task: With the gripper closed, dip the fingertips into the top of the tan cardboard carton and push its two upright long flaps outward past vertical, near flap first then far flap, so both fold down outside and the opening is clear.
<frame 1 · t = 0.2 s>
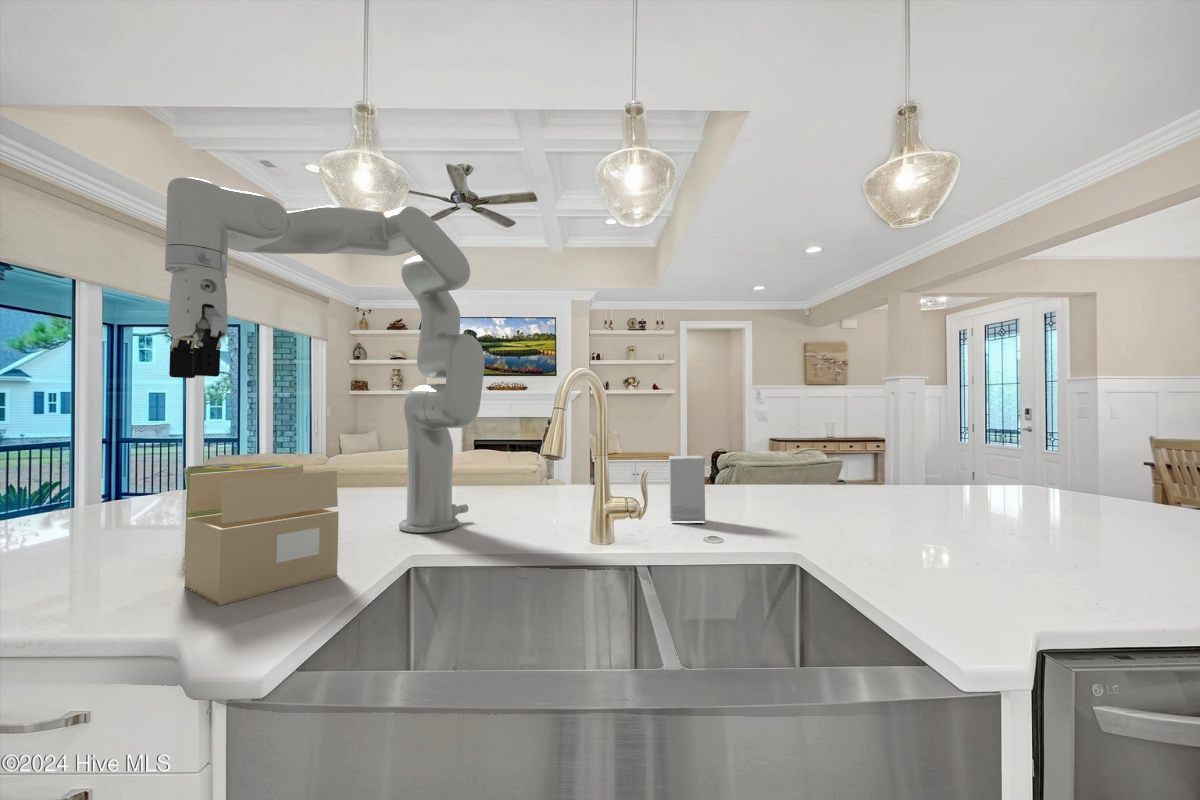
hand: (193, 376, 80), 31 cm above the counter, tool pointing down, fingers open, 9 cm apart
carton: (263, 581, 80), on the counter
near flap: (284, 494, 77), point 14 cm above the counter, hinge at 84.0°
protein box: (245, 551, 97), on the counter
skincare box: (686, 522, 126), on the counter
far flap: (249, 487, 83), point 14 cm above the counter, hinge at 84.0°
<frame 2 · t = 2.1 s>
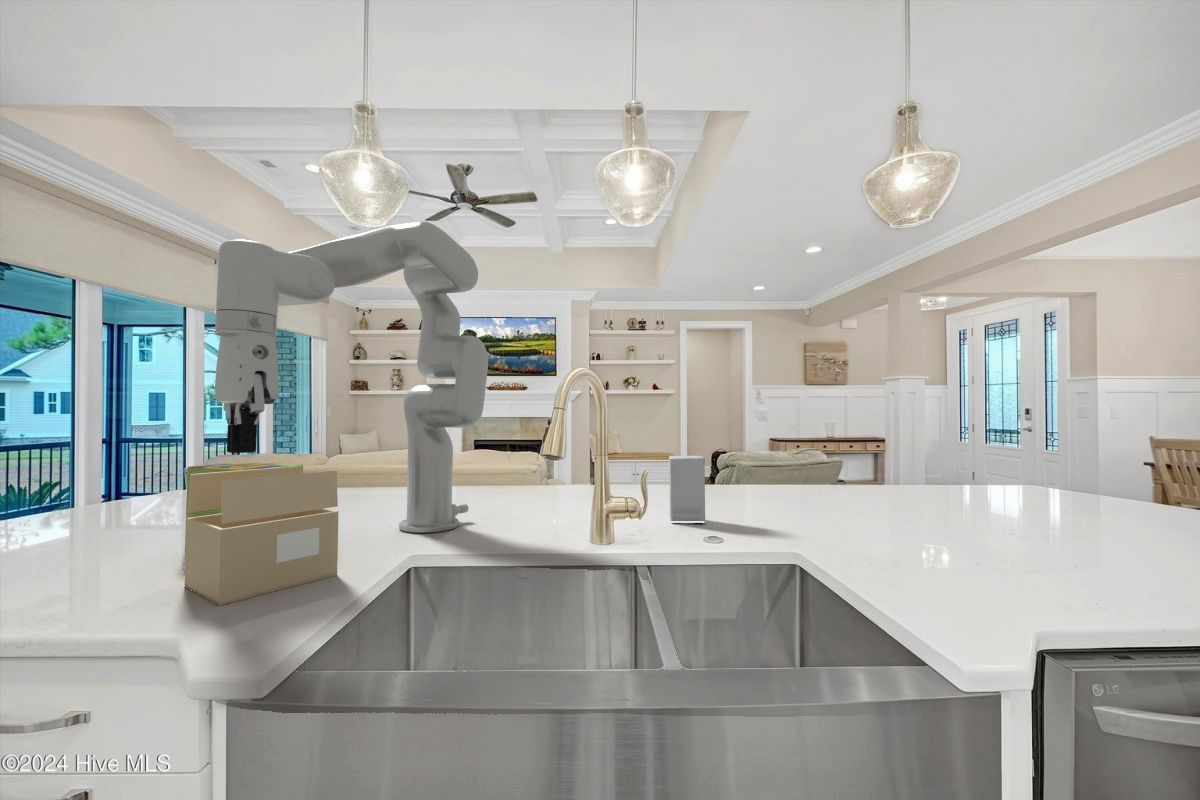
hand: (241, 452, 77), 20 cm above the counter, tool pointing down, fingers closed
nothing on the counter moved.
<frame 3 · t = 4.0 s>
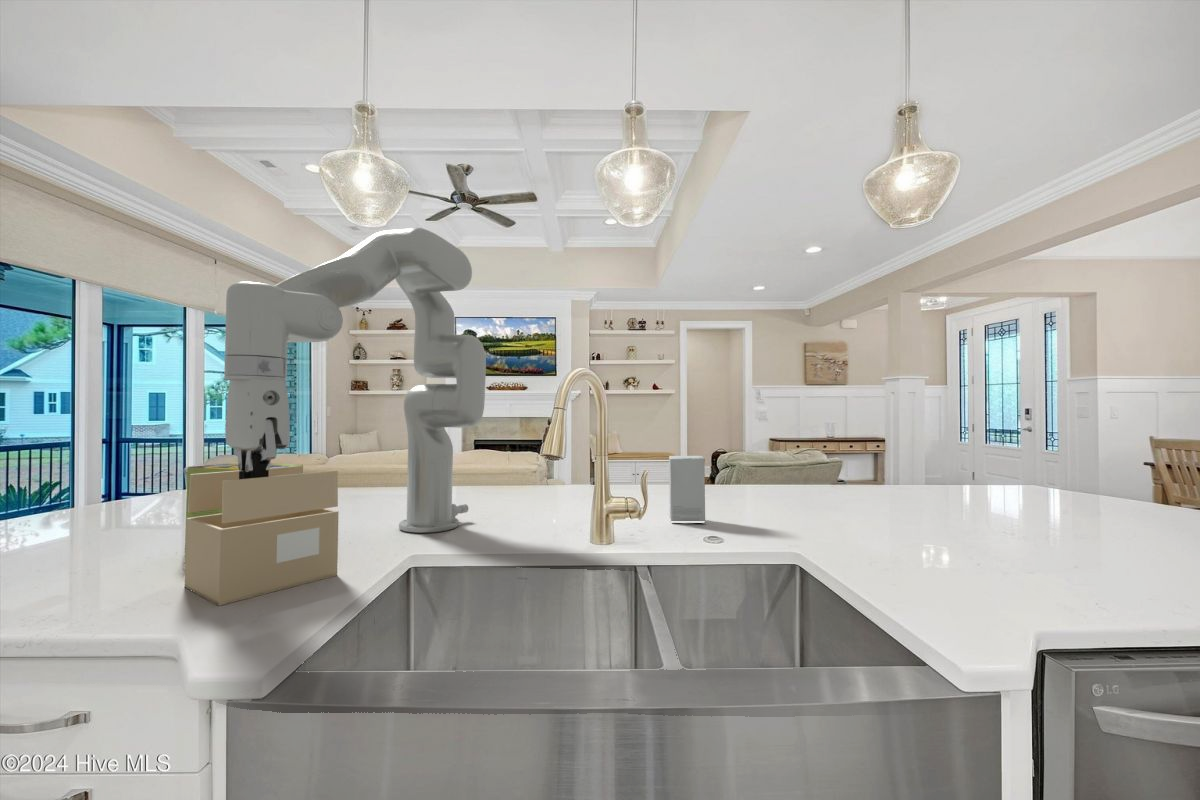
hand: (253, 498, 76), 13 cm above the counter, tool pointing down, fingers closed
near flap: (284, 494, 77), point 14 cm above the counter, hinge at 86.9°, touching gripper
everything else where it was.
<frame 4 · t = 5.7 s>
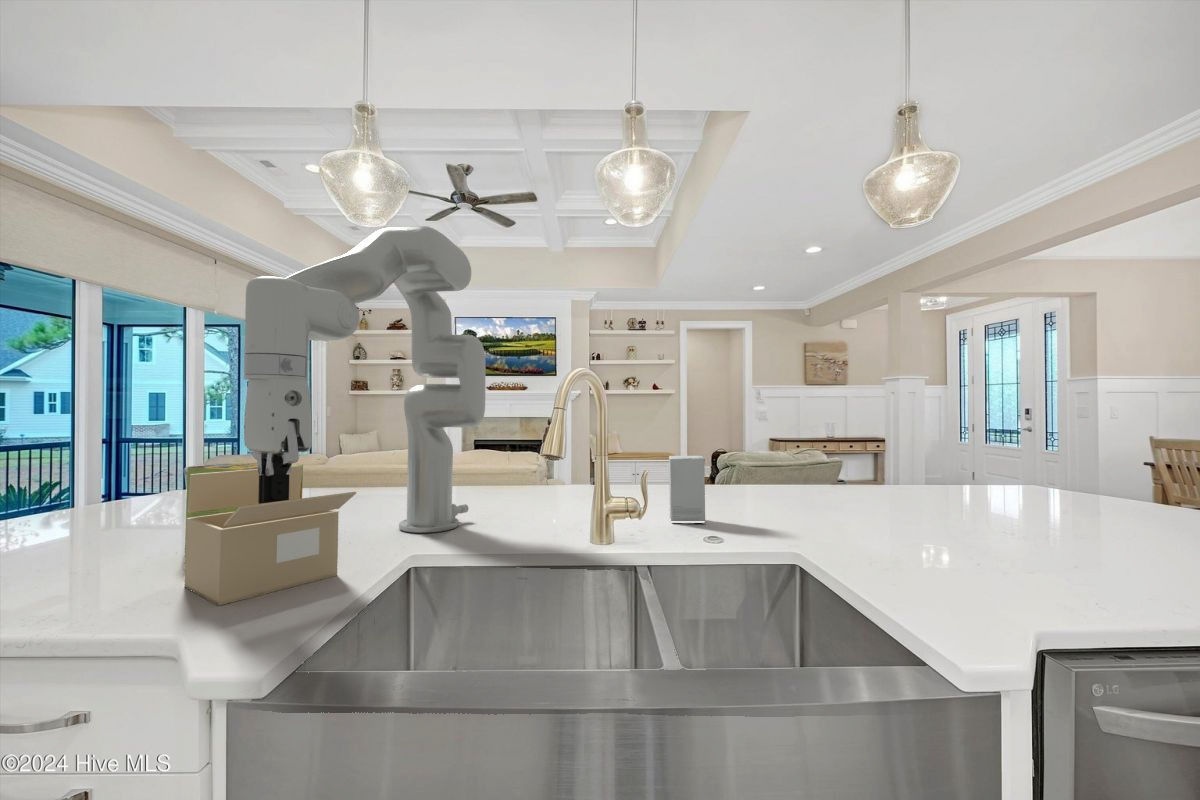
hand: (273, 503, 72), 13 cm above the counter, tool pointing down, fingers closed
near flap: (294, 507, 75), point 12 cm above the counter, hinge at 148.8°
everything else where it was.
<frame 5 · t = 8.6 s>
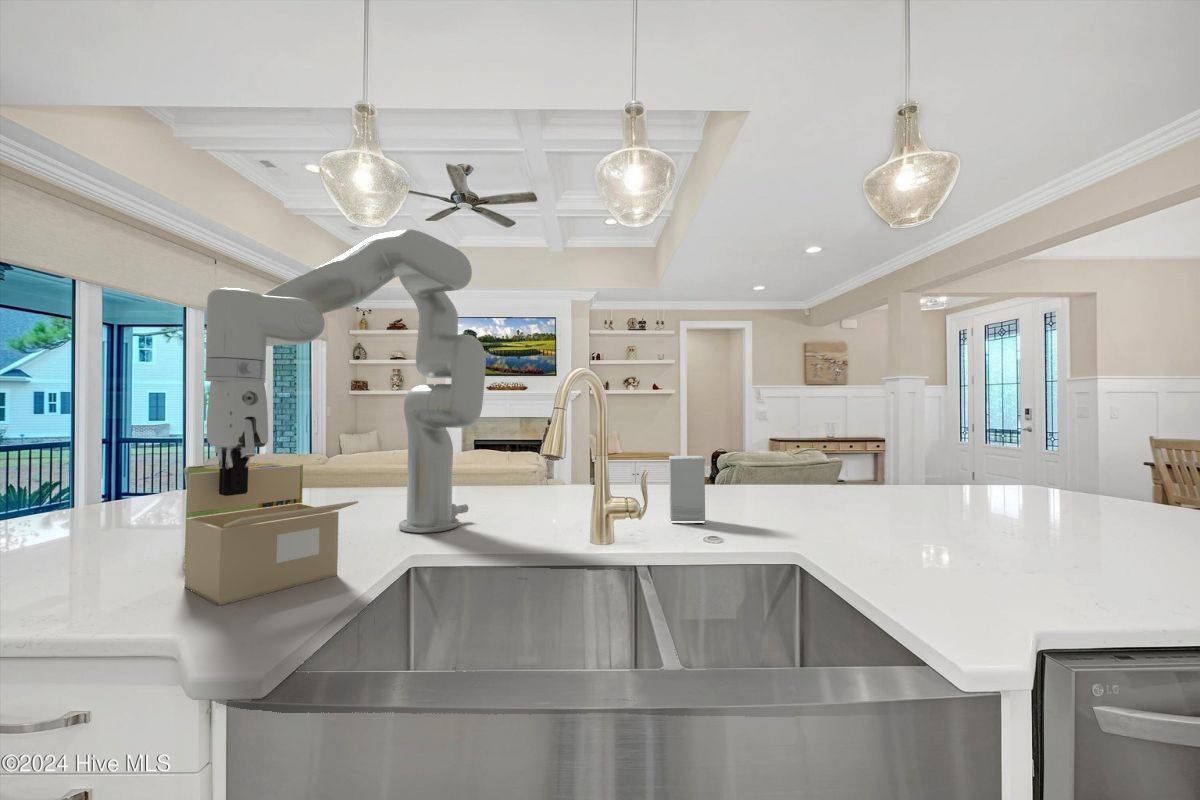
hand: (233, 494, 80), 13 cm above the counter, tool pointing down, fingers closed
near flap: (295, 513, 75), point 11 cm above the counter, hinge at 163.2°
far flap: (248, 487, 83), point 14 cm above the counter, hinge at 90.3°, touching gripper
everything else where it was.
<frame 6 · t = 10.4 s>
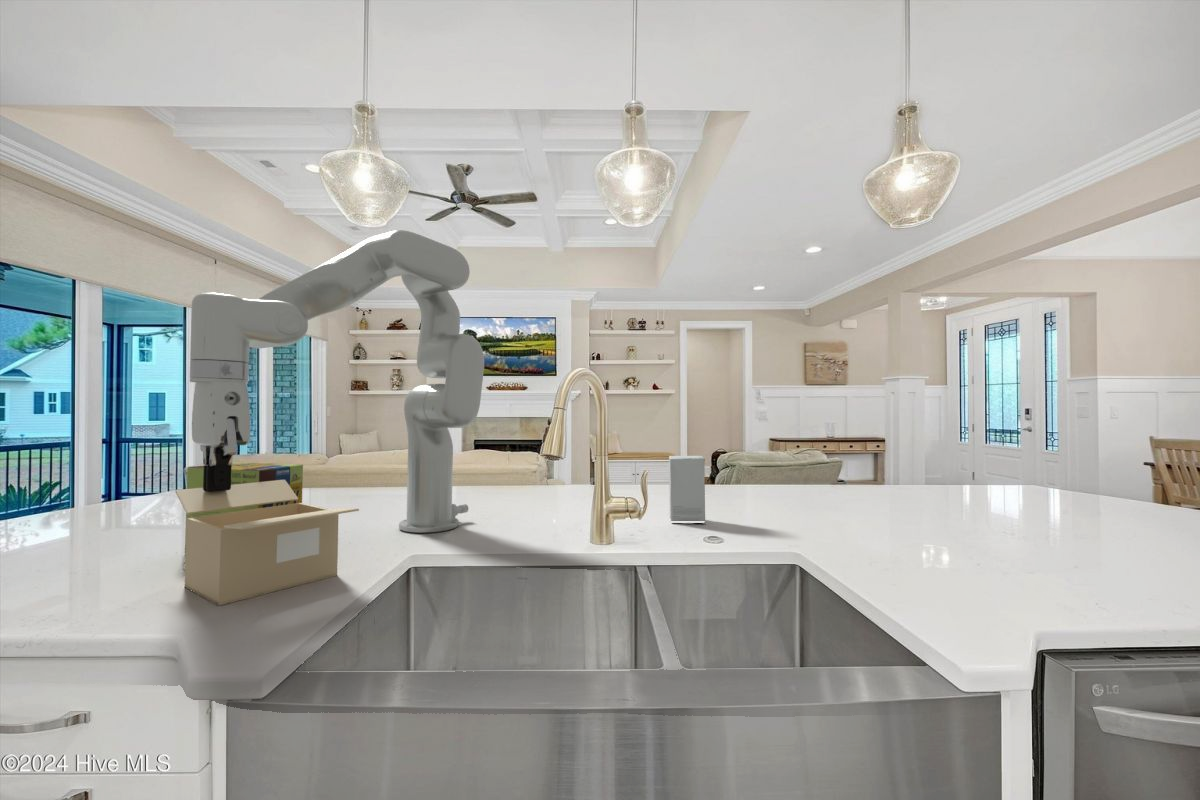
hand: (217, 490, 83), 13 cm above the counter, tool pointing down, fingers closed
near flap: (295, 517, 75), point 11 cm above the counter, hinge at 174.2°
far flap: (240, 495, 85), point 12 cm above the counter, hinge at 149.9°
everything else where it was.
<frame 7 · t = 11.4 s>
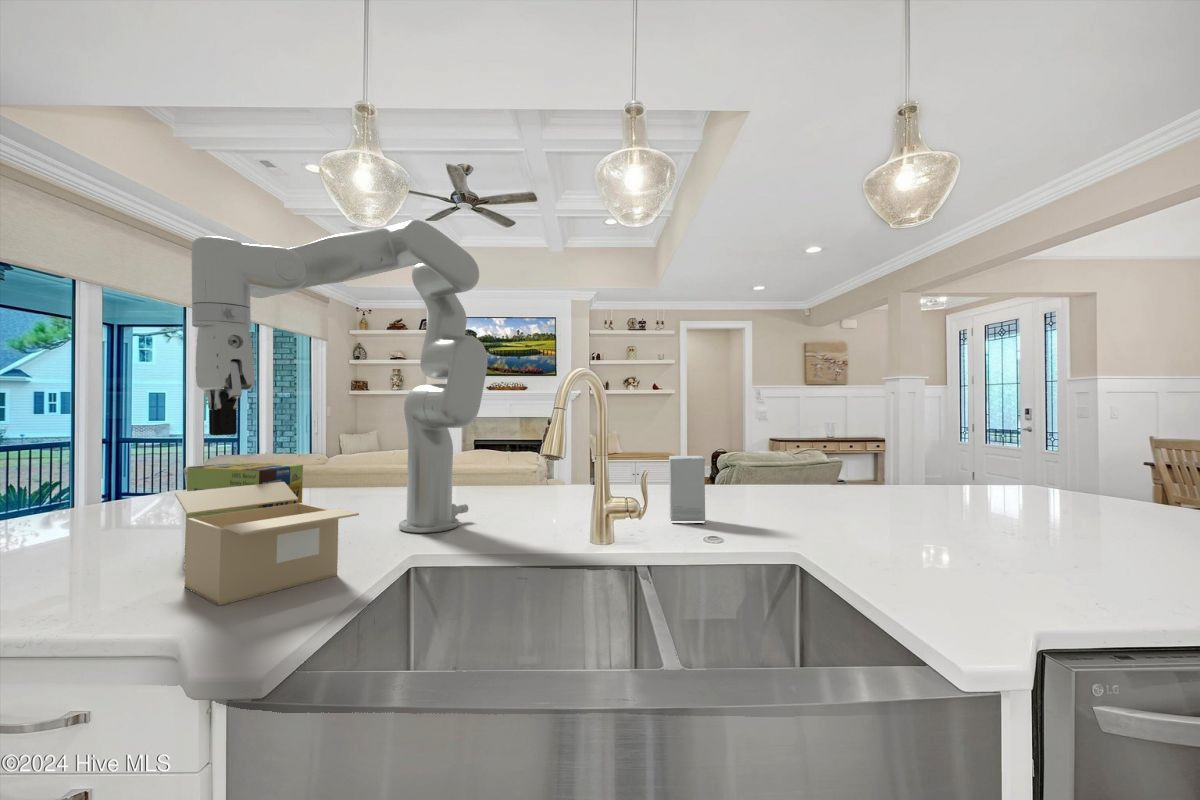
hand: (223, 434, 84), 22 cm above the counter, tool pointing down, fingers closed
near flap: (295, 520, 75), point 10 cm above the counter, hinge at 180.7°
far flap: (240, 496, 85), point 12 cm above the counter, hinge at 154.3°
everything else where it was.
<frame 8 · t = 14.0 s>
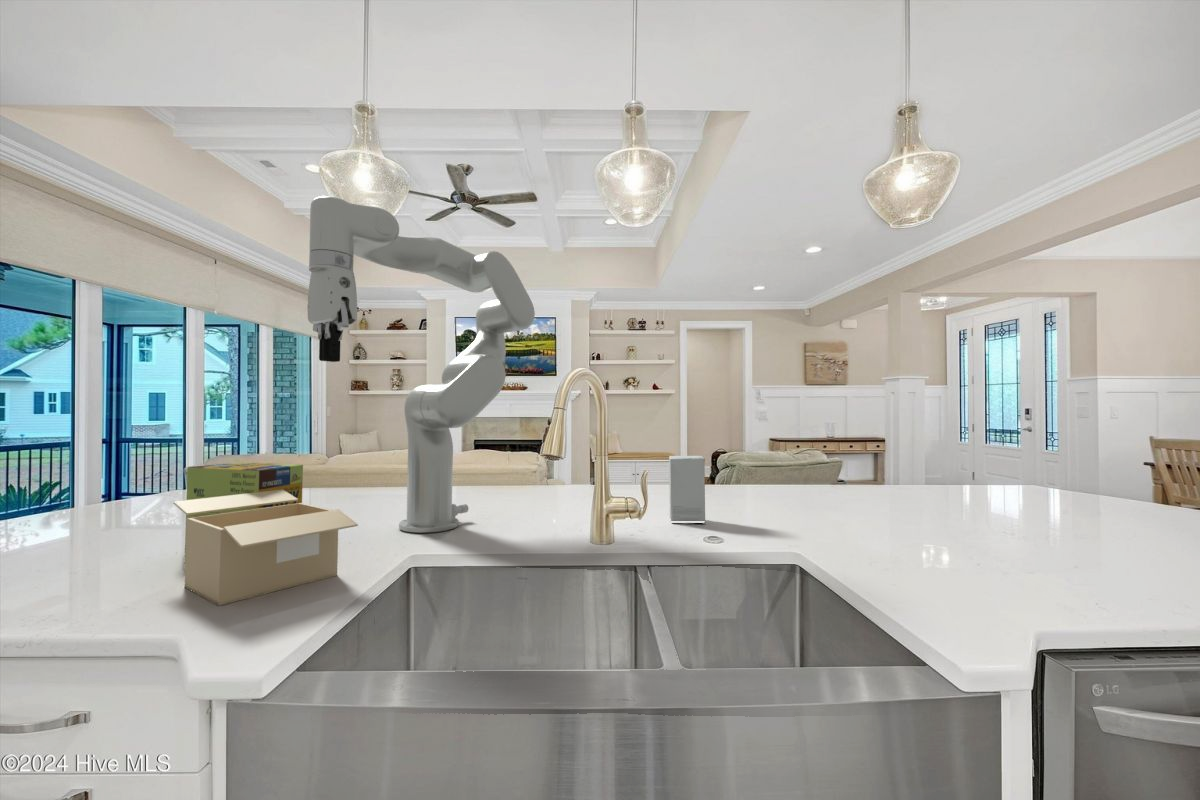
hand: (329, 360, 101), 35 cm above the counter, tool pointing down, fingers closed
near flap: (295, 526, 75), point 9 cm above the counter, hinge at 197.0°
far flap: (239, 501, 85), point 11 cm above the counter, hinge at 168.7°
everything else where it was.
at the end: near flap at +198° (first picture: +84°); far flap at +170° (first picture: +84°) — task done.
